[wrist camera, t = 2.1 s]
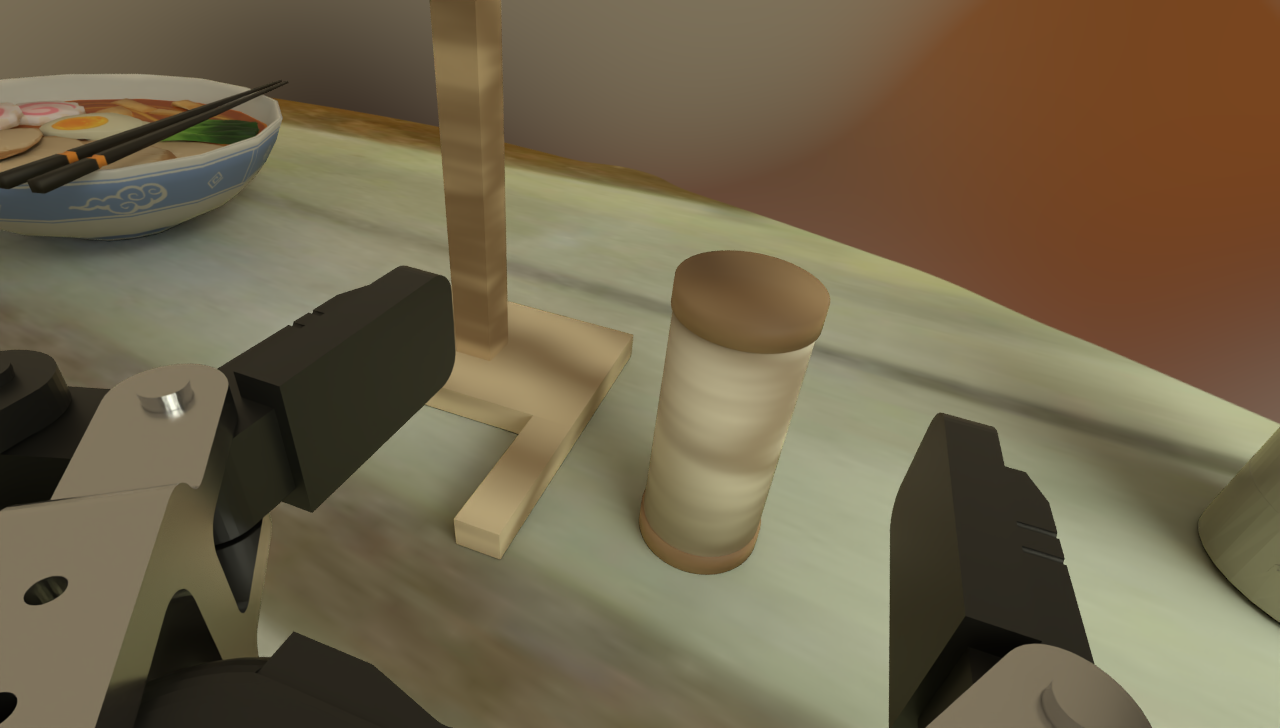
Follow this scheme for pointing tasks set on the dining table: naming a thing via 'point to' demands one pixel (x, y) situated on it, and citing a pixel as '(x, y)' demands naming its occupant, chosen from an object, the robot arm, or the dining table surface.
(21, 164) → the ramen bowl
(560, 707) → the dining table surface
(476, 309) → the hook stand
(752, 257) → the cord spool
